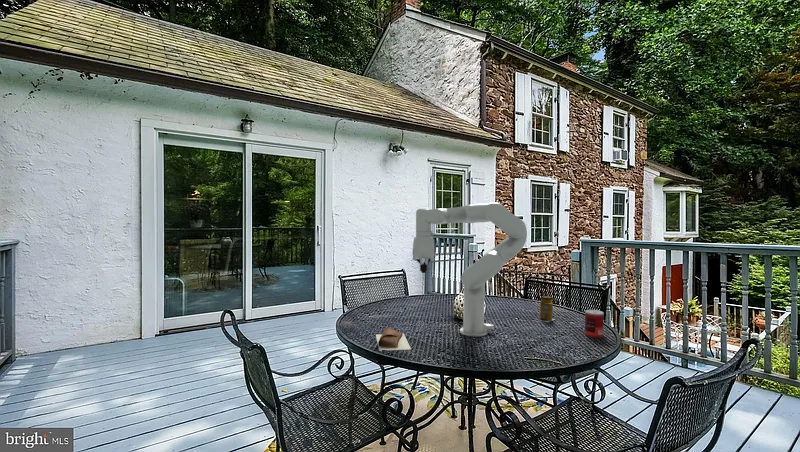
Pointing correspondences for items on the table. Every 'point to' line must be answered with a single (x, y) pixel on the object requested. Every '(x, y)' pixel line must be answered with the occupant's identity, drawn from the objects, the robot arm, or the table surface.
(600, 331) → the canned food
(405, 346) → the mat
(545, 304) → the condiment
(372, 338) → the table surface
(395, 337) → the sunglasses case
